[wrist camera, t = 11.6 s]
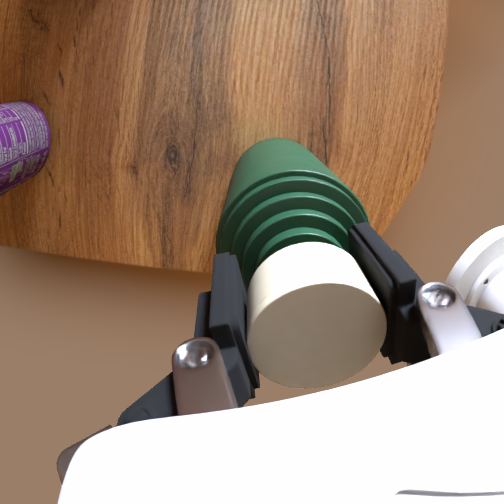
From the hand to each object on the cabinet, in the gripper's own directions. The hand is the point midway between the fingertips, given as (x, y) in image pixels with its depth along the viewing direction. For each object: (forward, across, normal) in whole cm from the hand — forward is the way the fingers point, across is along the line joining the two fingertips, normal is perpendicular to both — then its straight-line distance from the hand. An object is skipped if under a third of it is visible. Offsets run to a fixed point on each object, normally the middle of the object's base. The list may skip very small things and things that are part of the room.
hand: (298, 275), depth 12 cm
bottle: (+15, -1, +1) cm, 15 cm away
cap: (-3, 0, 0) cm, 3 cm away
